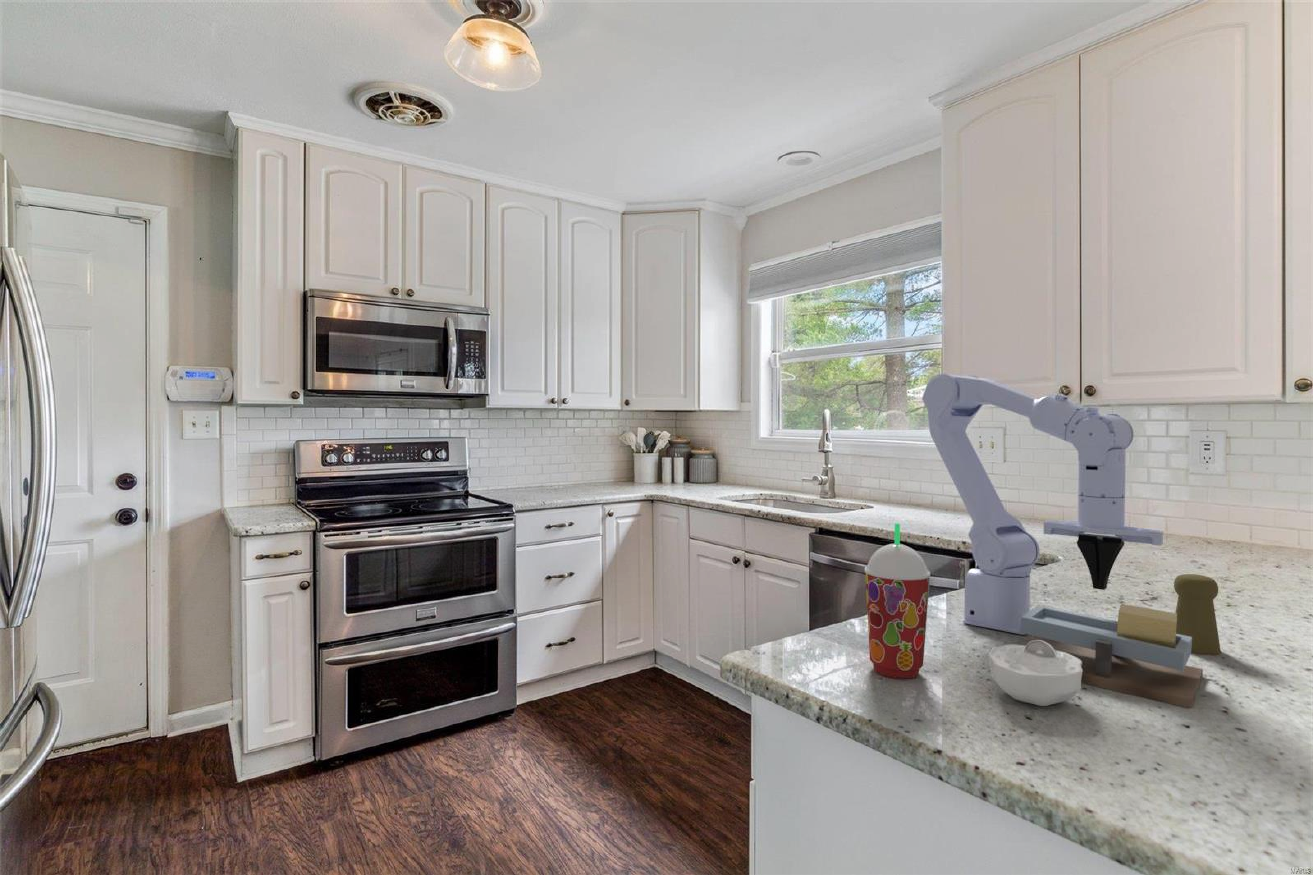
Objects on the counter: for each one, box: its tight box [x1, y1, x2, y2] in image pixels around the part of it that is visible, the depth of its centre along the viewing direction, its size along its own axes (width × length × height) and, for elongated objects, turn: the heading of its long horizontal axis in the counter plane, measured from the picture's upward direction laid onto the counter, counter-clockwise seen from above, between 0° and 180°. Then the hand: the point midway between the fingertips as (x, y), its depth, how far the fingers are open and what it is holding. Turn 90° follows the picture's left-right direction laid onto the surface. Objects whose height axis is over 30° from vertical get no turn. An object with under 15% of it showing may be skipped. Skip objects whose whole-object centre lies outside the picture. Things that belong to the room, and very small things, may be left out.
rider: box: [1117, 603, 1177, 649], centre depth 87 cm, size 6×5×4 cm
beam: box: [1020, 604, 1192, 671], centre depth 90 cm, size 18×9×2 cm, turn 46°
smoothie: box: [864, 523, 931, 680], centre depth 89 cm, size 8×8×20 cm
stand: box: [1023, 636, 1204, 709], centre depth 90 cm, size 20×14×5 cm
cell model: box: [988, 640, 1083, 707], centre depth 80 cm, size 10×12×7 cm
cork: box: [1173, 573, 1222, 656], centre depth 99 cm, size 6×6×11 cm
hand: (1099, 588), depth 98 cm, fingers closed
